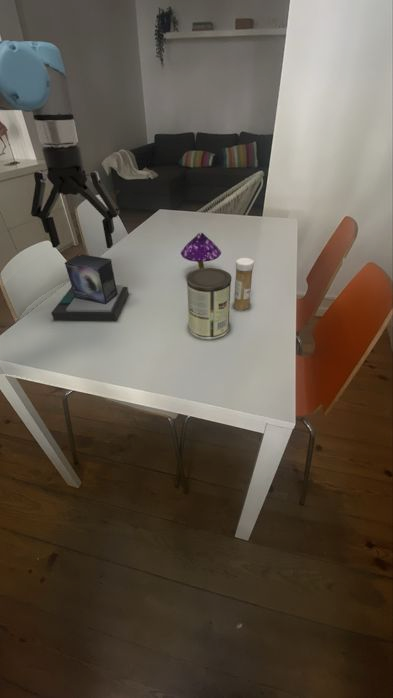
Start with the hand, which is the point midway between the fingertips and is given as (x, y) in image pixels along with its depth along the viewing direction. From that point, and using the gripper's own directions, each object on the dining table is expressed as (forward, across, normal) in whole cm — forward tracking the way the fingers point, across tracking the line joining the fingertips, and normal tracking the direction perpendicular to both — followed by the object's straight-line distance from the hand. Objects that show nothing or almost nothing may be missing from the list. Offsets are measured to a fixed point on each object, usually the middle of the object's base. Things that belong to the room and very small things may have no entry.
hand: (83, 246), depth 79 cm
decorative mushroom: (+17, -29, -19) cm, 38 cm away
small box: (+15, 0, -1) cm, 15 cm away
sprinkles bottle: (+18, -41, -2) cm, 44 cm away
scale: (+18, +1, -1) cm, 18 cm away
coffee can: (+18, -32, +9) cm, 38 cm away
